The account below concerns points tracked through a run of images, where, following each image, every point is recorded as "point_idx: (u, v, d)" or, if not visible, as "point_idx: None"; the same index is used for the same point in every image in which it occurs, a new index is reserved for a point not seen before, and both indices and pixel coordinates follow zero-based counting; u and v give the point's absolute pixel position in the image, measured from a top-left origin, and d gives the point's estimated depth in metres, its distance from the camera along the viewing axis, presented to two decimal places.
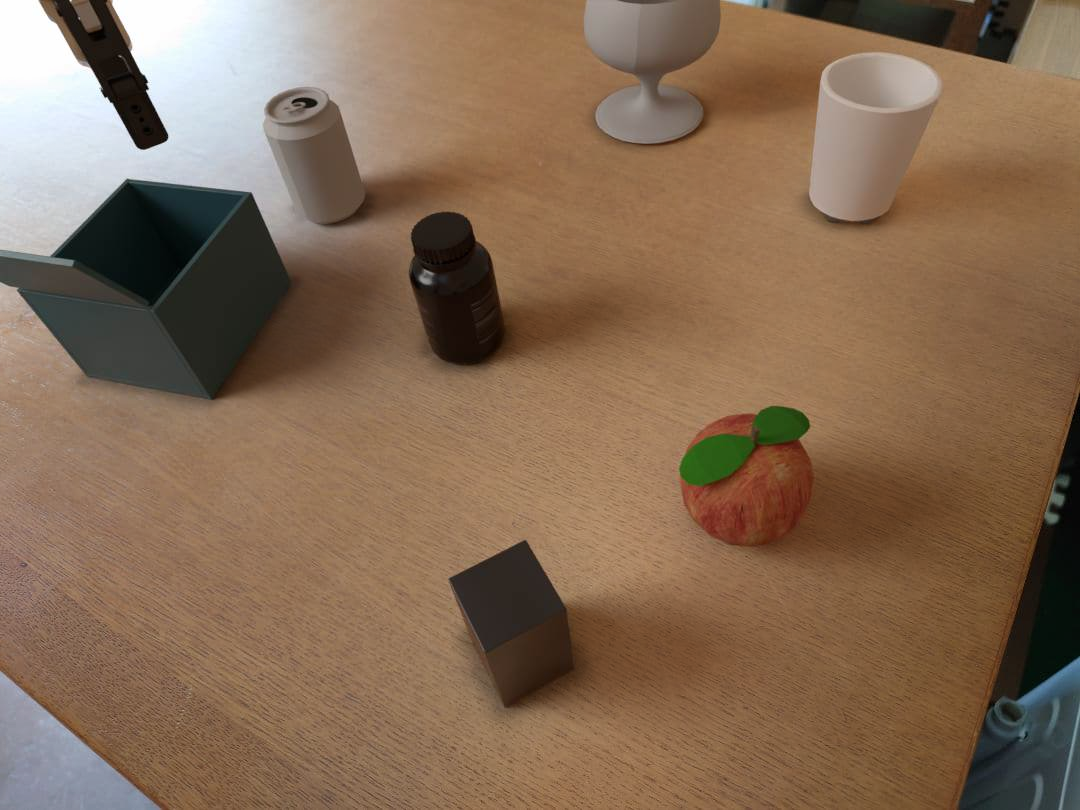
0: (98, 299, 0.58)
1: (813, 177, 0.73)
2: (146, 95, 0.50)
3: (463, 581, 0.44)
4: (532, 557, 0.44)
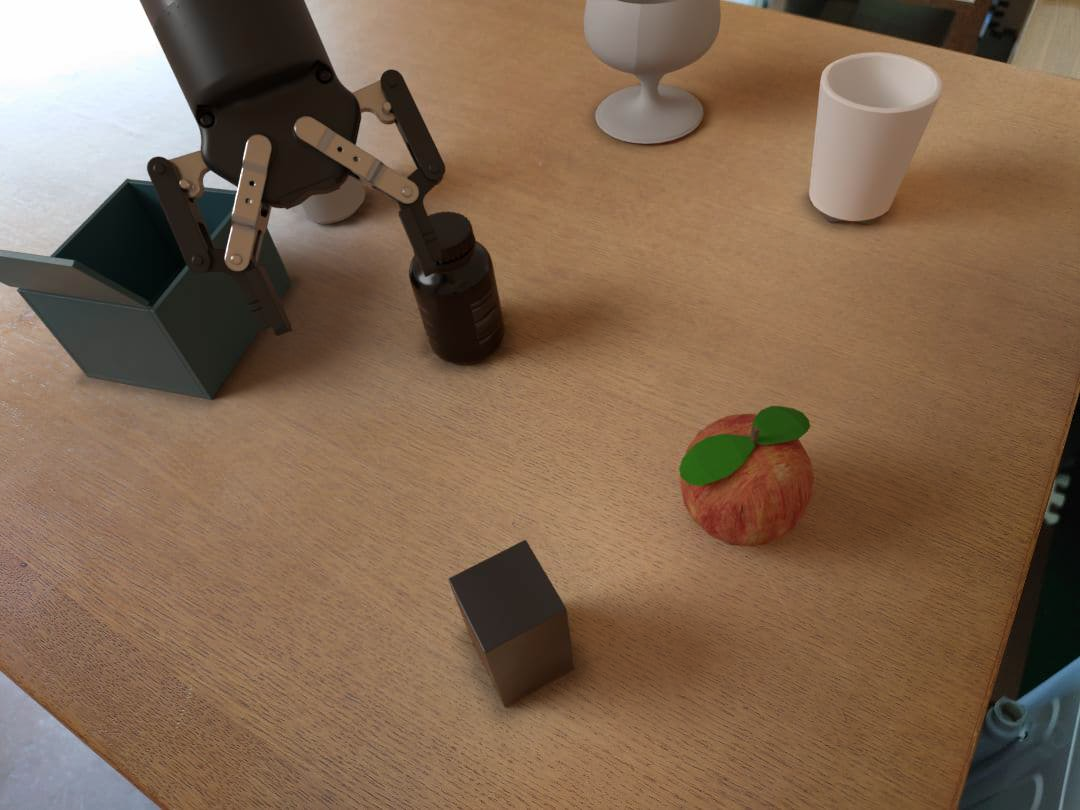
0: (98, 299, 0.58)
1: (813, 177, 0.73)
2: None
3: (463, 581, 0.44)
4: (532, 557, 0.44)
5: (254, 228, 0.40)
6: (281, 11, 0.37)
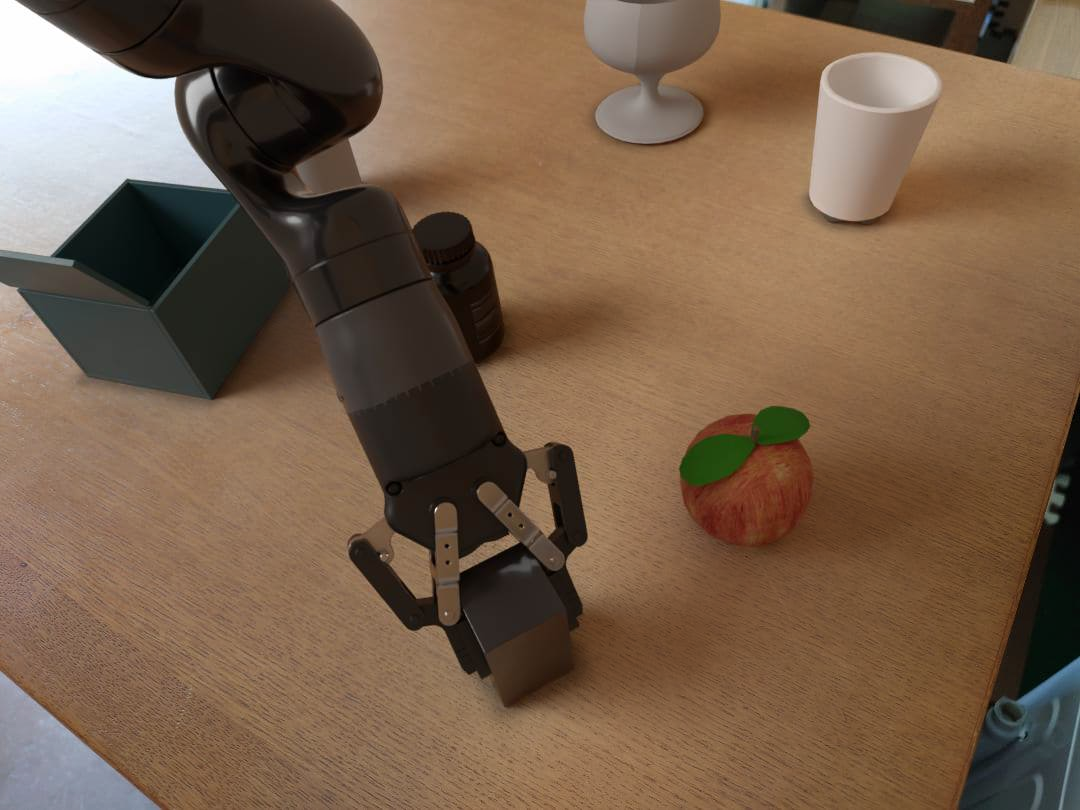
0: (98, 299, 0.58)
1: (813, 177, 0.73)
2: None
3: (463, 581, 0.44)
4: (532, 557, 0.44)
5: (458, 582, 0.42)
6: (473, 398, 0.41)
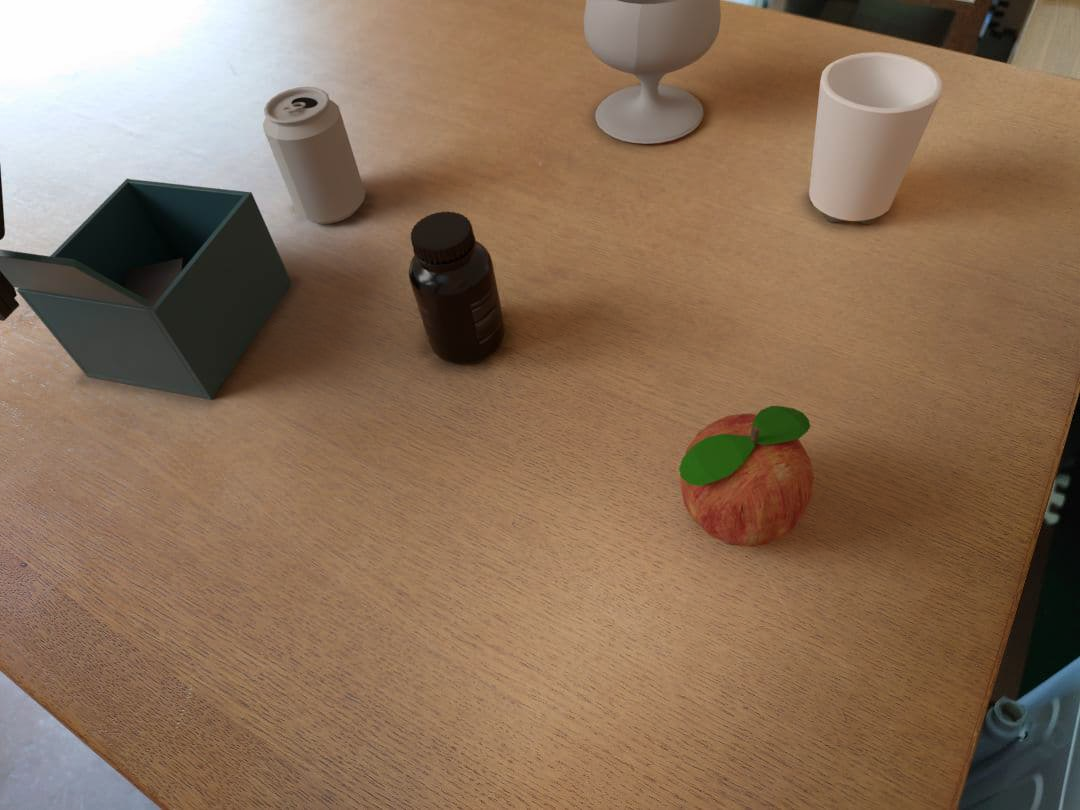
0: (98, 299, 0.58)
1: (813, 177, 0.73)
2: None
3: None
4: None
5: None
6: None
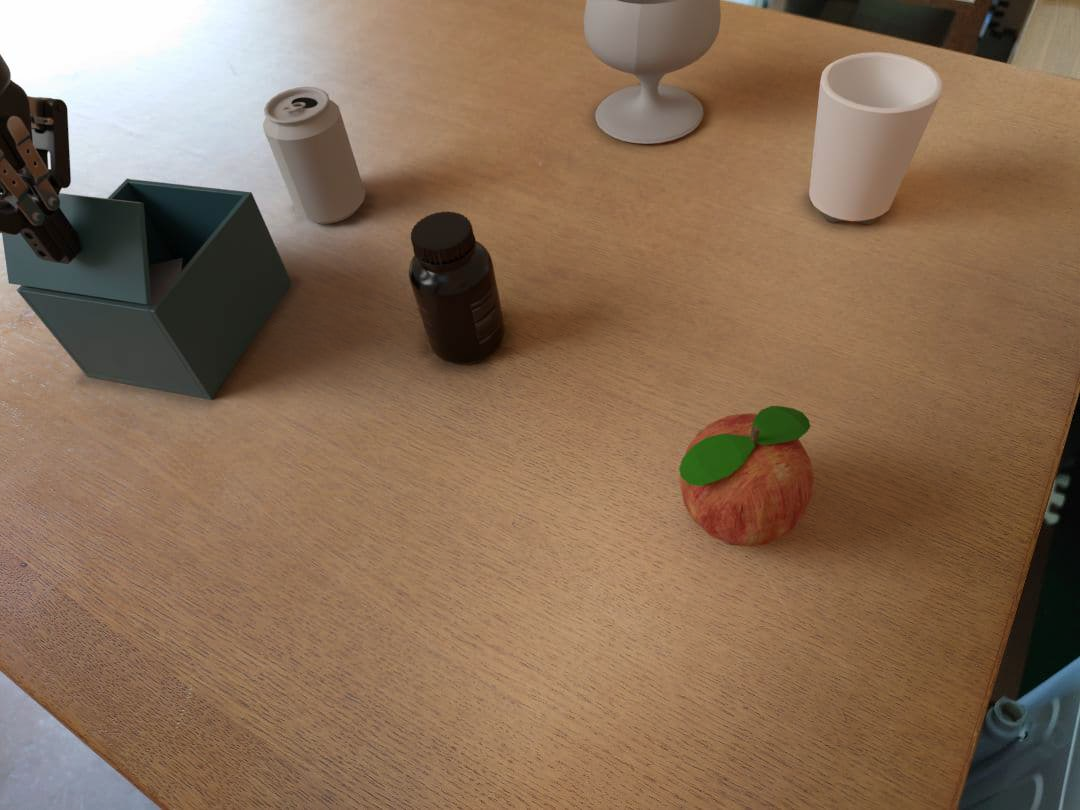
0: (99, 294, 0.59)
1: (813, 177, 0.73)
2: None
3: None
4: None
5: (27, 191, 0.52)
6: None
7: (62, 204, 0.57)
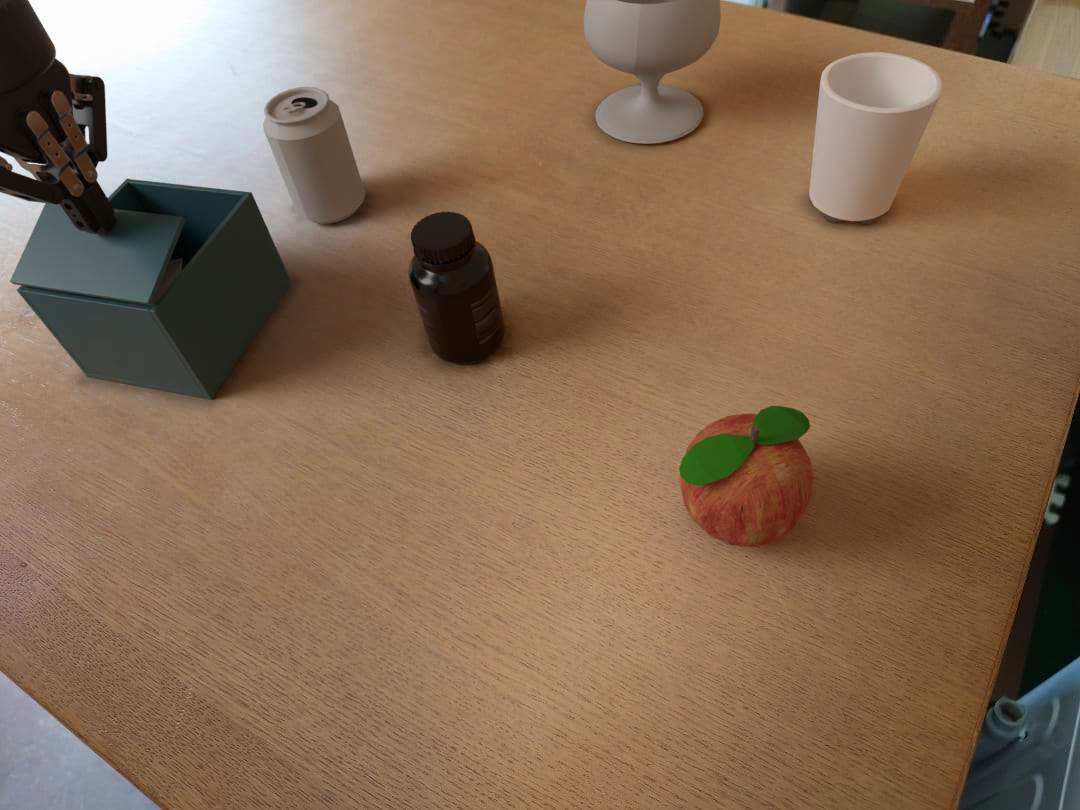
0: (101, 292, 0.59)
1: (813, 177, 0.73)
2: None
3: None
4: None
5: (68, 163, 0.55)
6: (36, 16, 0.49)
7: None
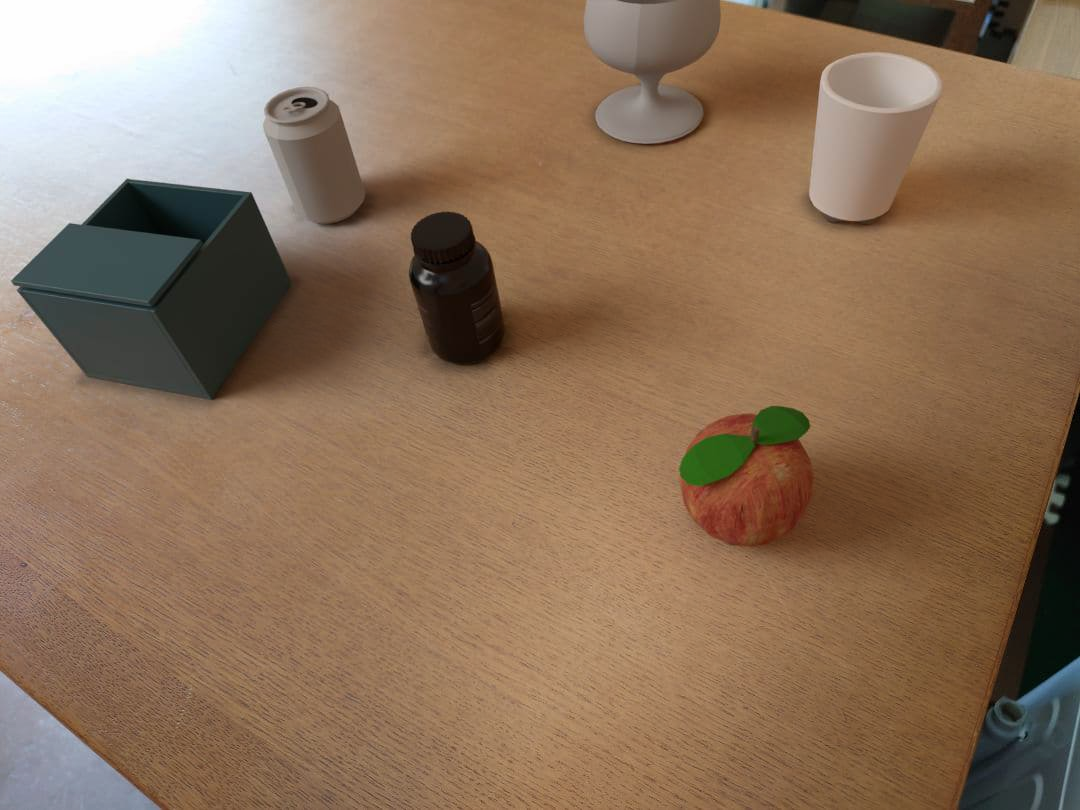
0: (103, 292, 0.59)
1: (813, 177, 0.73)
2: None
3: None
4: None
5: None
6: None
7: (124, 235, 0.63)
